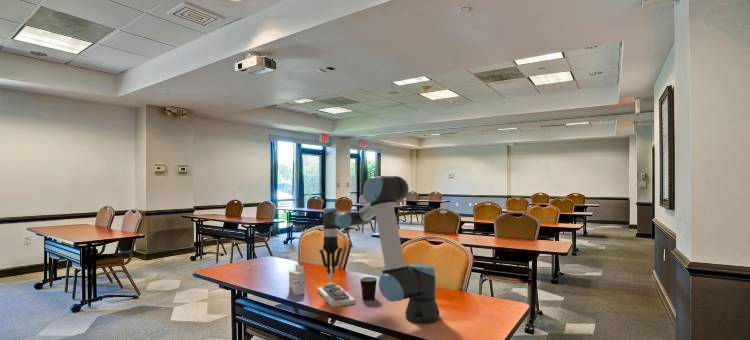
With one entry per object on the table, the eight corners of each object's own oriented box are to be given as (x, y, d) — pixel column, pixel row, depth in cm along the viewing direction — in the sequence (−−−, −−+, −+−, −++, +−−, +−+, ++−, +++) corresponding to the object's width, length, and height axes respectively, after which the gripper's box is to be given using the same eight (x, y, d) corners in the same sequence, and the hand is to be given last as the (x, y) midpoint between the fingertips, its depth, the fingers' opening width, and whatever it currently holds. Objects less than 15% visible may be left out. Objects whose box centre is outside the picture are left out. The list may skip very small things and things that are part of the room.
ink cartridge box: (288, 292, 209) (288, 265, 209) (296, 290, 213) (295, 264, 213) (297, 295, 203) (297, 268, 204) (305, 293, 207) (305, 266, 207)
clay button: (346, 295, 191) (346, 292, 191) (336, 296, 189) (336, 293, 189) (343, 292, 196) (343, 289, 196) (333, 294, 194) (333, 290, 194)
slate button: (341, 291, 199) (341, 288, 199) (332, 292, 197) (332, 289, 197) (338, 288, 203) (338, 285, 203) (329, 289, 201) (329, 286, 201)
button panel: (355, 303, 189) (355, 296, 189) (331, 307, 185) (331, 300, 185) (338, 288, 215) (338, 282, 215) (317, 291, 210) (317, 285, 211)
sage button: (336, 287, 206) (336, 284, 206) (327, 288, 204) (327, 285, 204) (334, 284, 211) (334, 281, 211) (325, 286, 209) (325, 282, 209)
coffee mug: (375, 301, 192) (374, 281, 192) (358, 300, 194) (358, 280, 194) (379, 294, 204) (379, 275, 204) (363, 293, 205) (363, 275, 206)
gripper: (339, 234, 214) (340, 276, 213) (317, 235, 209) (317, 279, 208) (344, 236, 207) (344, 279, 207) (320, 237, 202) (320, 282, 201)
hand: (330, 279), depth 207 cm, fingers closed
